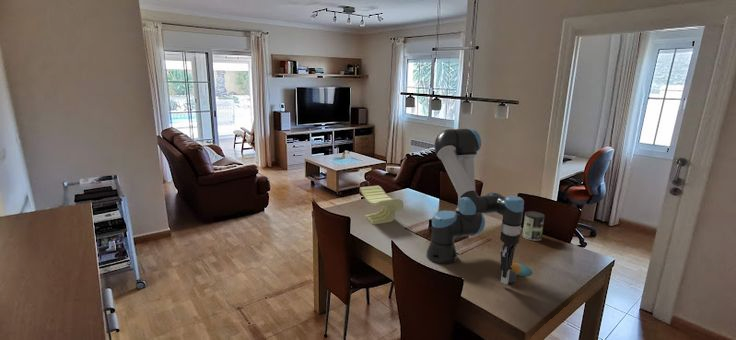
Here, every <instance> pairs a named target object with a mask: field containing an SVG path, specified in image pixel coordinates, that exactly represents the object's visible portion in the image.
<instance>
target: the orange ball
mask: <svg viewBox="0 0 736 340" xmlns="http://www.w3.org/2000/svg"><path fill="white" fill-rule="evenodd" d="M519 264H520V263H518V264H517V262H512V266H511V268H512V271H514V272H515V273H516V276H518V274H519V273H520V272H521V267H520V265H519ZM509 270H511V269H509Z"/></svg>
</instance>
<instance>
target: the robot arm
mask: <svg viewBox="0 0 736 340" xmlns="http://www.w3.org/2000/svg"><path fill="white" fill-rule="evenodd" d="M480 135H481V134H480V133H479V132H478V131H477V130H475V129H472V128H456V129H455V128H454V129H451V128H449V129H448V128H447V129H445V130H442V131H441V132H440V133H439V134H438V135H437V136H436V138H435V141H434V152H435V155H436V156H437V158H438V159H439V160H440V161H441V163H442V164H443V166H444V168H445V171H446V173H447V175H448V177H449V180H450V181H451V183H452V185H453V187H454V189H455V191H456V193H457V197H458V198H457V199H458V201H457V207H456V208H455V211H452V210H440V211H437V212H436V213H433V216H432V220H431V235H430V236H431V237H430V243H429V245H428V247H427V250H426V258H427V259H428V260H429V261H431V262H433V263H436V264H441V265H448V264H449V265H450V264H453V263H455V262H456V261H457V260H458V259H457V258H458V253H457V249H456V245H455V242H456V241H455V240H456V238H461V237H473V236H477V235H480V234H481V233H482V232H483V231H484V229H485V227H486V226H485V225H486V219H485V217H484V214H490V213H497V214H498V215H501V216H502V221H501V229H500V231H501V232H500V237H499V238H500V242H502V243H503V245H502V251H501V252H500V268H499V270H501V276H500V277H501V278H500V283H501V284H503V285H508V284H509V282H508V280H509V272H510V270H509V269H511V270H512V268H511V266H512V263H514V262H513V260H514V255H515V249H516V248H517V245H518V244H519V243H520V237H521V235H520V234H521V232H522V231H523V228H522V222H523V214H524V209H525V207H524V205H525V200H524V198H522V197H520V196H516V195H507V196H503V195H502V194H500V193H499V192H498V193H497V192H493V191H492V192H489V193H487V194H486V195H481V196H480V195H478V193H477V191H476V177H475V176H476V175H475V158H476V157H477V155H478V152H479V151H480V150H481V147H482V138H481V136H480Z"/></svg>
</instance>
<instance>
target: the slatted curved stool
mask: <svg viewBox="0 0 736 340" xmlns="http://www.w3.org/2000/svg"><path fill="white" fill-rule="evenodd" d="M359 192H360V193H361V195H362V196H363V198H364V200H365V201H366V202H368V203H369V204H370V205H372V207H374V206H375V207H379V206H380V207H381V209H380V210H379V211H377V212H374V213H370V214H365V216H364V219H366V220H367V221H368V222H370V223H371V224H372V225H378V224H380V225H381V224H384V223H391V222H393V221H395V218H396V212H398V211H399V212H400V211H404V202H403V200H402V199H401V198H397V199H393V198H391V197H390V196H389V195H388V194H387V193H386V191H385V190H384V189H383V187H381V186H380V185H370V186H360V187H359Z"/></svg>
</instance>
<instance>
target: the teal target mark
mask: <svg viewBox="0 0 736 340" xmlns="http://www.w3.org/2000/svg"><path fill="white" fill-rule="evenodd" d="M516 263H517V262H516ZM517 264H519V265H520V267H521V272H520V273H519V274H518V275H517V276H518V277H528V276H530V275H531V274H532V272H533V271H532V269H531V268H530V267H528V266H526V265H524V264H521V263H517Z"/></svg>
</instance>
